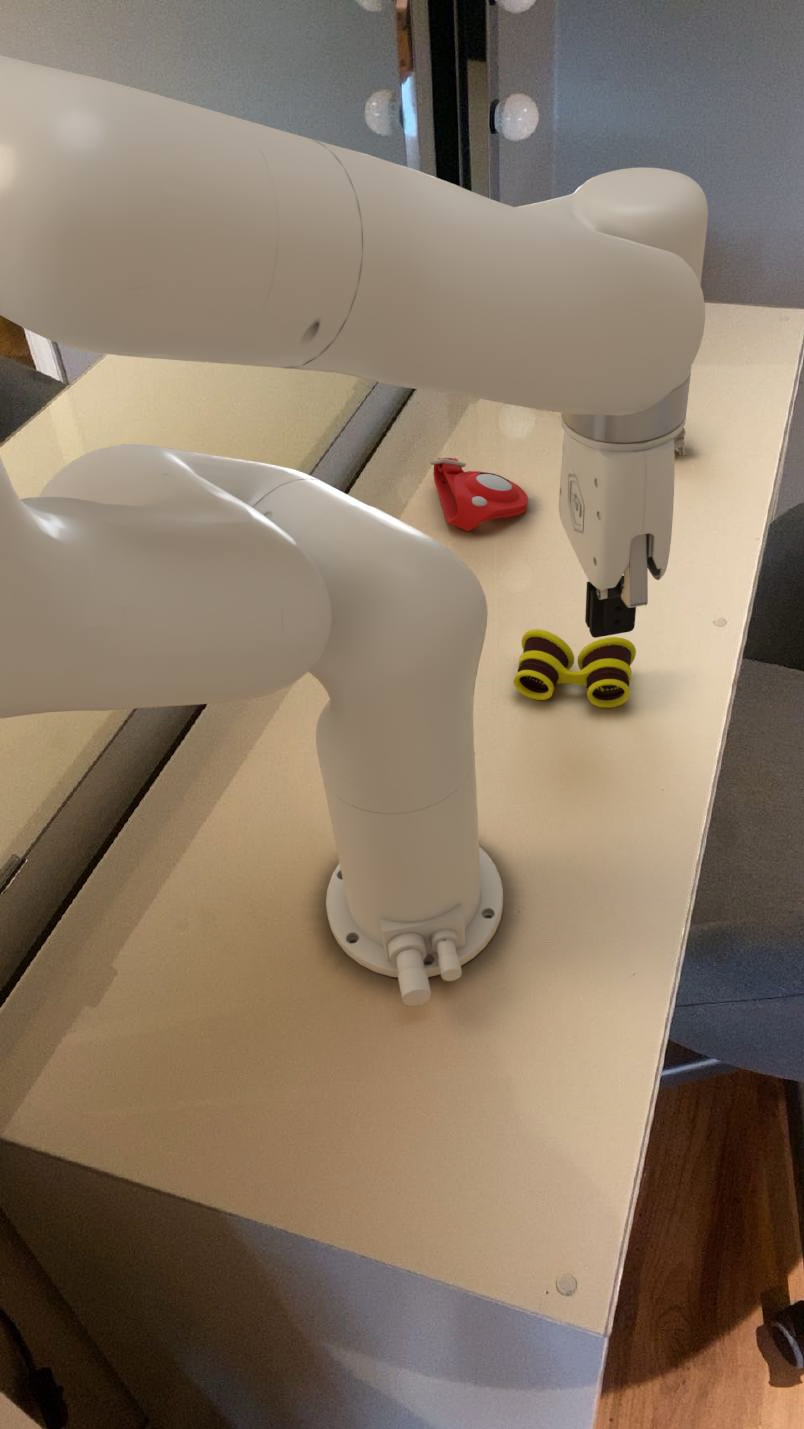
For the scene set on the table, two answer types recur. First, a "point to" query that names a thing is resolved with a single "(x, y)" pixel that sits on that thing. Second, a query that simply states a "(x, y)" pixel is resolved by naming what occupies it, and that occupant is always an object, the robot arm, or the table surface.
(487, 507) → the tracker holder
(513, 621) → the table surface
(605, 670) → the opera glasses
